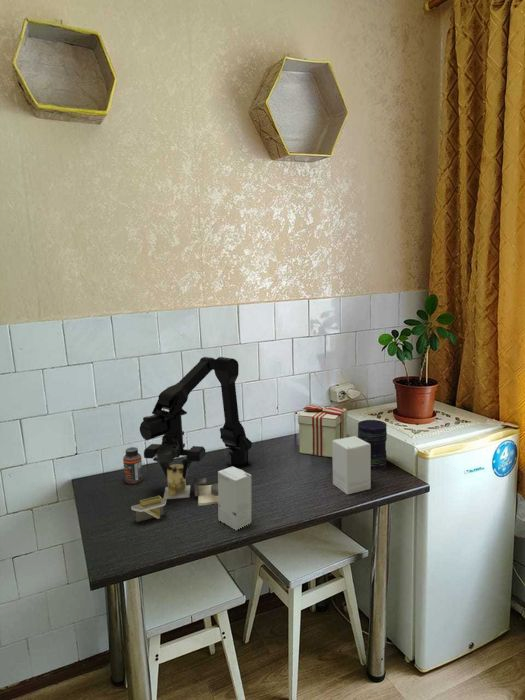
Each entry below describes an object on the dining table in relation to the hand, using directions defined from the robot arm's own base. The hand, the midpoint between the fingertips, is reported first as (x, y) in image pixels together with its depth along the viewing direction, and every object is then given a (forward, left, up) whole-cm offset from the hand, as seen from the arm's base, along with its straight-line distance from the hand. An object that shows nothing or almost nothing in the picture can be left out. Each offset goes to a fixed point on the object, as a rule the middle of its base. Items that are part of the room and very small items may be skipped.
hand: (176, 477), depth 158 cm
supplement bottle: (+9, -17, -5) cm, 20 cm away
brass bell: (0, 0, -4) cm, 4 cm away
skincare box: (-7, +27, -5) cm, 28 cm away
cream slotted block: (-10, +9, -5) cm, 14 cm away
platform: (+13, +12, -6) cm, 18 cm away
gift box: (-61, -4, -5) cm, 61 cm away
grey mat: (0, 0, -5) cm, 5 cm away
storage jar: (-65, +19, -5) cm, 68 cm away
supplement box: (-48, +28, -5) cm, 56 cm away
